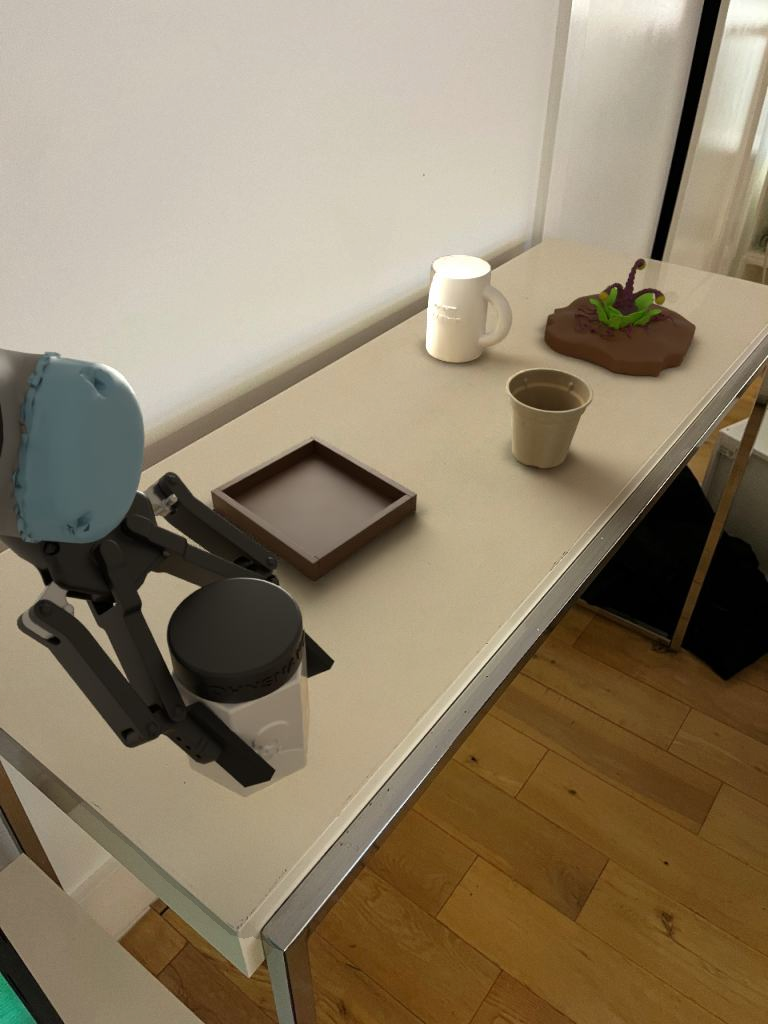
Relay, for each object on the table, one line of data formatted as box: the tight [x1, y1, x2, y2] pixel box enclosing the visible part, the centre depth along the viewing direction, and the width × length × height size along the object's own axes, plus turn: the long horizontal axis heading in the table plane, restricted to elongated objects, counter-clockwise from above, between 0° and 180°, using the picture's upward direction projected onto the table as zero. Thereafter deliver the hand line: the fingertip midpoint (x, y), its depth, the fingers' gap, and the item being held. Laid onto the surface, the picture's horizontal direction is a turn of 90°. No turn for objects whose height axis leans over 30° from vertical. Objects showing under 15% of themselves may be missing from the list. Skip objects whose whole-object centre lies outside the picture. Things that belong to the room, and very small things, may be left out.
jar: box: [166, 578, 311, 798], centre depth 50 cm, size 9×8×12 cm
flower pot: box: [505, 367, 594, 469], centre depth 87 cm, size 9×9×9 cm
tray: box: [210, 434, 418, 582], centre depth 81 cm, size 15×16×2 cm
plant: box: [543, 258, 697, 377], centre depth 109 cm, size 20×20×11 cm
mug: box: [425, 254, 513, 364], centre depth 104 cm, size 8×12×12 cm
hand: (292, 720), depth 51 cm, fingers closed on jar, 8 cm apart
